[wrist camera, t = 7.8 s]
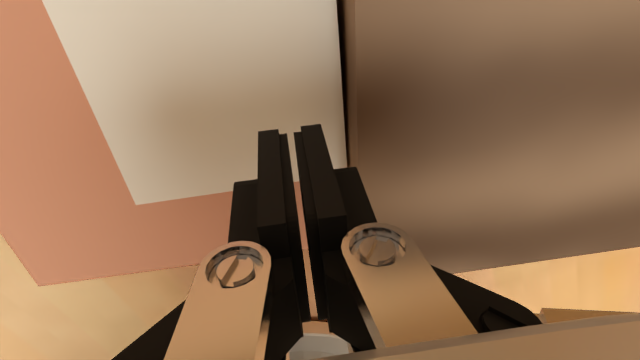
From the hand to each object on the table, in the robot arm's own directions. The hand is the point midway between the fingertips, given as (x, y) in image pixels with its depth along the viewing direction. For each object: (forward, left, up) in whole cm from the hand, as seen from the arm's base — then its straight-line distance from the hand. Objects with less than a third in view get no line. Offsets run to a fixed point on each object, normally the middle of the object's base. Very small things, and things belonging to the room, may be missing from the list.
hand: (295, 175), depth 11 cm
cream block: (+1, +2, -5) cm, 6 cm away
